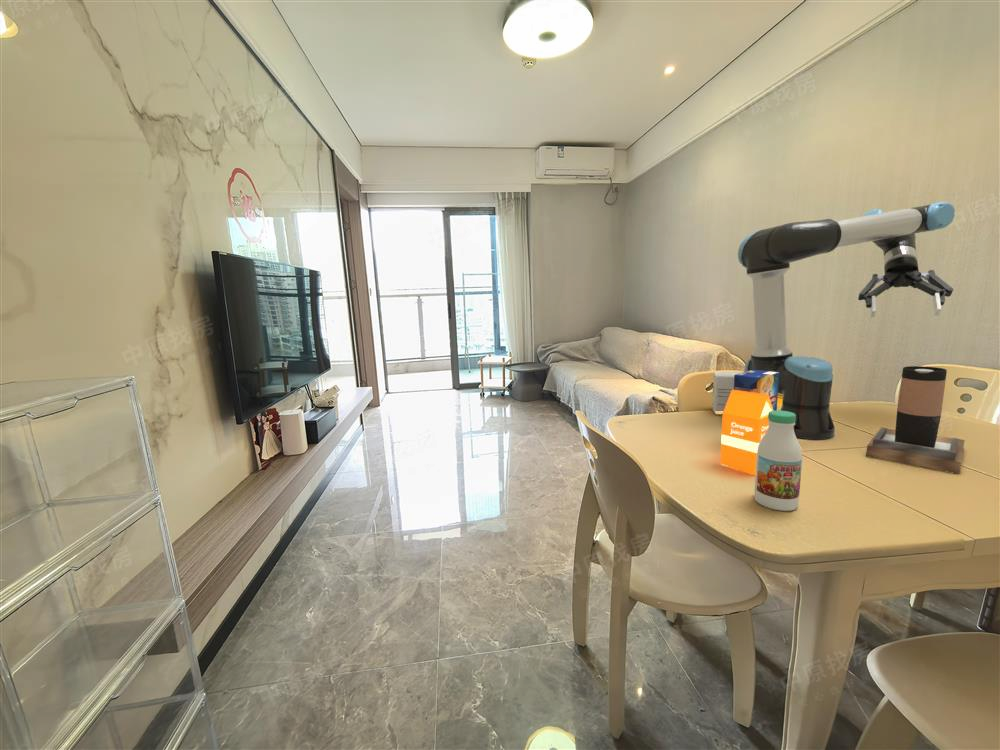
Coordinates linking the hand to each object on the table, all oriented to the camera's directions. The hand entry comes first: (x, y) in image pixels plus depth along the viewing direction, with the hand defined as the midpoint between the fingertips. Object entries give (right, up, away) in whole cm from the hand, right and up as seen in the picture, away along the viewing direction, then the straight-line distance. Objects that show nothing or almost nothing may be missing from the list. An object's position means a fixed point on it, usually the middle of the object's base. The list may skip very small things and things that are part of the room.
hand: (904, 313), depth 116 cm
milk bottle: (-63, -46, -33) cm, 85 cm away
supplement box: (-35, -33, +31) cm, 58 cm away
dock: (-11, -39, -13) cm, 43 cm away
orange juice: (-58, -43, -15) cm, 74 cm away
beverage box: (-48, -40, -3) cm, 63 cm away
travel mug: (-14, -37, -16) cm, 43 cm away
